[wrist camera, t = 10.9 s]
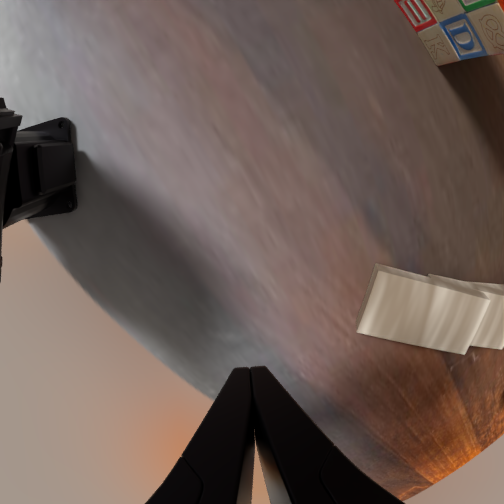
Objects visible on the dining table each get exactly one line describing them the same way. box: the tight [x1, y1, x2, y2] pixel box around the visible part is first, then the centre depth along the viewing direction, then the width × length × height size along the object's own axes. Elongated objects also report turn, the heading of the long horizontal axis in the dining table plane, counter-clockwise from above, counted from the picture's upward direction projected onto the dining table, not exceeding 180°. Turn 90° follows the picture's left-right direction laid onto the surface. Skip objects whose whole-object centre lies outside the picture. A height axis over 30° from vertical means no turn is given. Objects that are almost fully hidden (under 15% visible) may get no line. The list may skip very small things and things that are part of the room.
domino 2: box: [427, 274, 504, 349], centre depth 21 cm, size 2×5×10 cm
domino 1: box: [356, 263, 491, 355], centre depth 20 cm, size 2×5×10 cm
